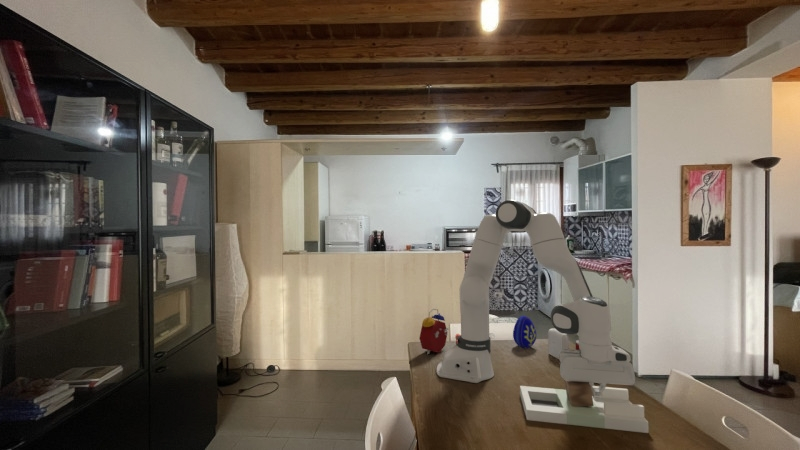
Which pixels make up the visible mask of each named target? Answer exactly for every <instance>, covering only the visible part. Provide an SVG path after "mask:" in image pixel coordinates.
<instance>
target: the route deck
mask: <svg viewBox="0 0 800 450" xmlns="http://www.w3.org/2000/svg"><path fill="white" fill-rule="evenodd" d="M599 386H600V385H594V386H592V387H593V388H594V389H598V388H599ZM519 396H520V400H521V403H522V407H523V411H524V415H525V417H526V420H527V421H533V422H541V423H542V422H543V423H551V424H559V425H570V426H579V427H587V428H588V427H590V428H598V429H605V430H606V429H607V430H617V431H625V432H634V433H643V434H649V428H650V427H649V421H648V420H647V419H646V418H645V406H644V405H643V404H634V403H632V402H631V401H630V399H629V398H630V397H629V389H628V388H621V387H611V386H610V387H609V386H606V388H605V389H604V391H603V392H602V397H593V396H592V398H593V405H594V406H572V405H571V403H570V402H569V400H568V398H567V393H566V389H562V388H560V389H559V388H552V387H551V388H549V387H539V386H528V385H519Z"/></svg>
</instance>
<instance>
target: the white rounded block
mask: <svg viewBox="0 0 800 450" xmlns="http://www.w3.org/2000/svg"><path fill="white" fill-rule="evenodd" d="M547 345H548V354H549V355H551V356H552V357H553V358H556V359H558V360H559V354H560V352H561V351H564V350H565V349H569V350H570V337H569V334H564V333H560V332H559V331H557V330H556V329H555V328H554V327H553V328H550V329H549V330H548V332H547ZM563 353H564V352H563Z"/></svg>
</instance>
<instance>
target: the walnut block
mask: <svg viewBox="0 0 800 450" xmlns="http://www.w3.org/2000/svg"><path fill="white" fill-rule="evenodd" d="M564 386H565V390H566V393H567V398H568V400H569V402H570V403H571V405H572V406H594V405H593V398H592V391H591V386H590V384H589V383H588V382H578V381H565V380H564Z"/></svg>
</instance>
